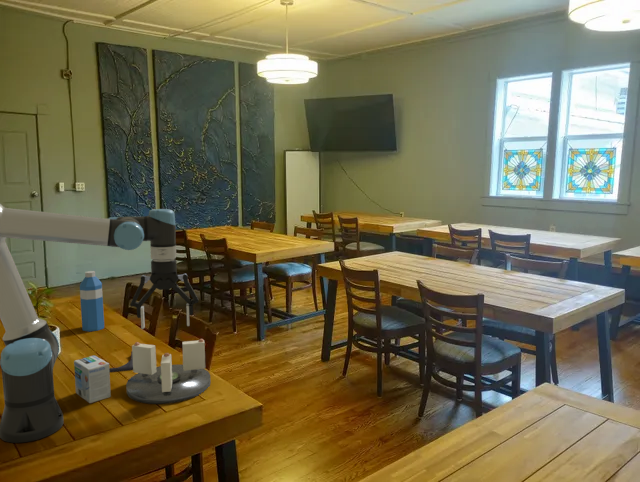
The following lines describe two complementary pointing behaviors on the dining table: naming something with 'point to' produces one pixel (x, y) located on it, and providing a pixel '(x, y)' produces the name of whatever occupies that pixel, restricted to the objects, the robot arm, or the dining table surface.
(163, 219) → the robot arm
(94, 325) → the water bottle
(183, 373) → the plate
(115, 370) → the bracket
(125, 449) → the dining table surface
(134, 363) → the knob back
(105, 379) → the light bulb box
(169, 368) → the white block with knob
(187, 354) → the beige upright box
